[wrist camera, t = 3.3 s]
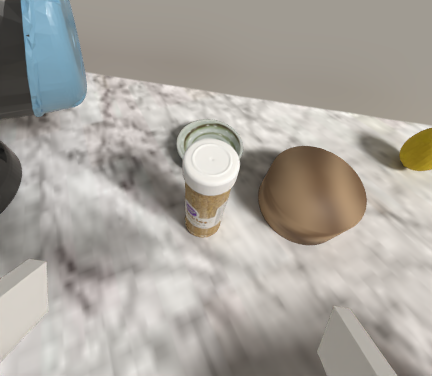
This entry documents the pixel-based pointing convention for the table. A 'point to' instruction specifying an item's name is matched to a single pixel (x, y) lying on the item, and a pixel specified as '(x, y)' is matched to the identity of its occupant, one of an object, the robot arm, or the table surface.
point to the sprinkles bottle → (208, 184)
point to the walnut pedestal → (311, 195)
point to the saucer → (208, 135)
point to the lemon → (418, 151)
